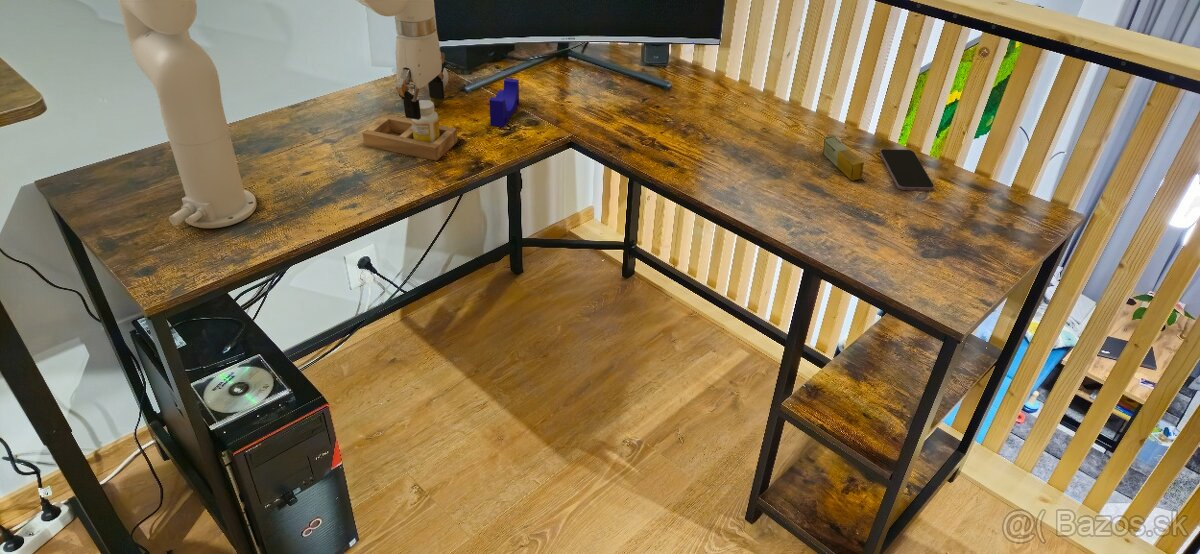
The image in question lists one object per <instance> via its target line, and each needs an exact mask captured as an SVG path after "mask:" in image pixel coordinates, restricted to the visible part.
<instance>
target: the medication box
mask: <svg viewBox="0 0 1200 554" xmlns="http://www.w3.org/2000/svg"><path fill="white" fill-rule="evenodd" d="M822 155H824V157H826V159H828V160H829V161H830V162H831V163H832V164H833V165H834V166H835V167H836V168H837V169H838V170H839V171H841V173H842V174H844V175H845V176H846V177H847V178H848V179H849V180H850V181H851V182H852V181H857V180H861V179H863V174H864V164H865V161H863V159H861V158H860V157H859V156H858V155H857V154H855V152H854V151H852V150H851V149H850V148H849V147H848V146H846V144H844V143H843V141H841V140H840V139H839V138H838V137H836V136H835V135H833V136H832V135H831V136H828V137H825V138H824V139H823V152H822Z"/></svg>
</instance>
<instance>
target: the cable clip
mask: <svg viewBox="0 0 1200 554" xmlns="http://www.w3.org/2000/svg"><path fill="white" fill-rule="evenodd" d="M519 80H520V79H517V78H508V77H505V79H504V80H503V89H498V91H497V93H496V95H495V97H494V96H491V97H490V98H489V99H488V100H489V103H488V104H489V123H490V127H491V126H492V127H497V128H498V127H499V128H505V126H506V125H507V124H508V122H509V120H510V119H511V117H512V116H513V115H514V113H515V111H516V110H517V108H519V105H520V84H519V82H520V81H519Z"/></svg>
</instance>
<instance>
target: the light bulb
mask: <svg viewBox="0 0 1200 554" xmlns="http://www.w3.org/2000/svg"><path fill="white" fill-rule="evenodd" d="M443 75H444V79H443V80H441V81H443V86H444V90H445V88H446V86H447V85H448V82H449V73H448V70H447V69H446V68H445V67H444V70H443ZM424 87H425V89H427V91H428V92H429V86H428V84H426V85H425V86H424ZM430 101H432V102H433V103H434V107H436V108H439V107H441V106H442V105H443V104H444V99H443V100H440V99H435V98H431V97H430Z"/></svg>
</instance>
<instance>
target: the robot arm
mask: <svg viewBox="0 0 1200 554" xmlns="http://www.w3.org/2000/svg"><path fill="white" fill-rule="evenodd" d="M355 1H357V2H358V3H360V4H361V5H363V6H365V7H366V8H368V9H369V10H371V11H373V12H374V13H376V14H377V15H380V16H381V17H382V16H383V17H394V23H395V30H396V35H397V36H396V37H395V67H396V78H397V82H396V84H395V90H396V91H397V93H398V96H399V97H400V98H401V100H402V101H403V110H404V116H405V118H406V119H410V120H412V119H416V120H419V119H421V113H420V105H419V101H420V100H419V99H418V96H419V92H420V89H422V88H423V87H425V85H426V84H428V86H429V91H428V94H429V96H428V97H429V98H430V99H431V98H435V99H440V100H443V101H444V99H445V89H444V86H443V81H441V80H443V79H444V75H443V70H444V68H445V64H444V63H445V58H446V54H445V52H441V46H440V41H439V35H438V29H437V20H436V9H435V0H355ZM117 3H118V6H119V10H120V11H119V12H120V14H121V15H120V16H121V18H122V22H123V25H124V29H125V33H126V36H127V39H128V43H129V47H130V51H131V53H132V57H133V59H134V60H135V63H136V64H137V66H138V67H139V69H140V70H141V71H142V72H143V74H144V75H145V76H146V78H147V79H148V80H149V82H151V83H152V85H153V87H154V89H155V93H156V95H157V99H158V103H159V108H160V113H161V118H162V122H163V126H164V130H165V133H166V137H167V138H168V141H169V142H168V143H169V145H170V147H171V148H170V149H171V152H172V155H173V158H174V161H175V164H176V168H177V172H178V175H179V178H180V182H181V185H182V188H183V191H184V194H185V196H184V197H182V198H181V202H182V205H181V206H180V210H177V211H176V212H174V213H173V214H171V215H170V216H169V217H168V221H169V223H170V224H171V225H173V226H175V227H177V226H179V225H180V224H182V223H184V222H185V223H186V224H187V225H189V226H192V227H195V228H199V229H218V228H225V227H229V226H232V225H235V224H238V223H240V222H243V221H245V220H246V219H248V218H249V217H250V216H252V214H253V213H254V212H255V211H256V209H257V205H258V204H257V199H256V196H255V195H254V193H252V192H250V191H249V190H247V189H244V185H243V180H242V177H241V173H240V169H239V165H238V162H237V157H236V153H235V149H234V145H233V141H232V138H231V134H230V129H229V126H228V122H227V118H226V114H225V110H224V109H225V108H224V105H223V99H222V91H221V81H220V76H219V74H218V69H217V67H216V65H215V62H214V61H213V59H212V58H211V57H210V55H209V54H208V53H207V51H206V50H204V49H203V48H202V46H201V45H199V44H198V43H197V42H196V41H195V40H194V39H193V38H192V37H191V34H190V30H189V29H190V28H191V27H192V26H193V24H194V23H195V21H196V17H197V13H198V5H197V0H117ZM410 89H412V93H411V92H410Z"/></svg>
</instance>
